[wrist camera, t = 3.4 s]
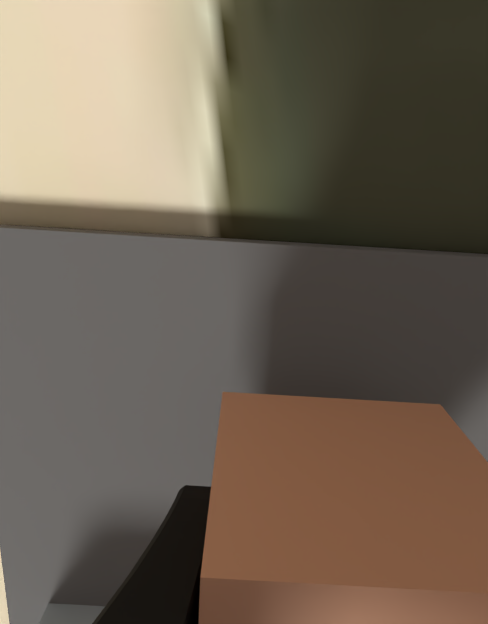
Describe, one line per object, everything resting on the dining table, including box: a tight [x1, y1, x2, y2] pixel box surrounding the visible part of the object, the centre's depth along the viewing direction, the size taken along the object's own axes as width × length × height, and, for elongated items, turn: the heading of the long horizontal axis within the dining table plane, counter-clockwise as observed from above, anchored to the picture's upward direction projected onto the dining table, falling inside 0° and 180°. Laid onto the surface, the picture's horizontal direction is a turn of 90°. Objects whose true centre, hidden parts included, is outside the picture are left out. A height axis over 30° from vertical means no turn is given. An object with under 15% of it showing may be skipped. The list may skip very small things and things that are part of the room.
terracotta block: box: [199, 392, 488, 624], centre depth 8 cm, size 4×4×4 cm
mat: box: [0, 224, 488, 624], centre depth 13 cm, size 18×17×1 cm
